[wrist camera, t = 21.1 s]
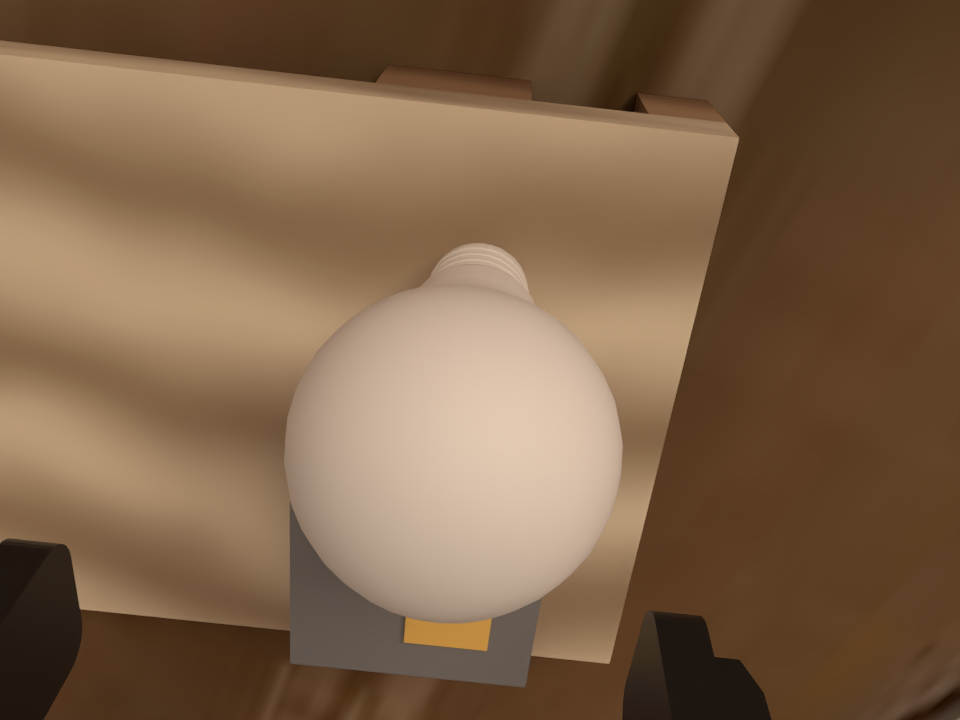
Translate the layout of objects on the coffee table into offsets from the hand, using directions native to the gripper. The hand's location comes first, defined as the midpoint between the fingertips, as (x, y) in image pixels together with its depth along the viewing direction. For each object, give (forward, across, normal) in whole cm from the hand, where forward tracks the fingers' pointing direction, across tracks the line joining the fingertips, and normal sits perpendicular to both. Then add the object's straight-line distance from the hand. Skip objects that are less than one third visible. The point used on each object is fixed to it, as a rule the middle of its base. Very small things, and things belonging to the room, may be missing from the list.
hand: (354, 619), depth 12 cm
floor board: (+16, +5, +5) cm, 18 cm away
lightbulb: (+12, -1, 0) cm, 13 cm away
